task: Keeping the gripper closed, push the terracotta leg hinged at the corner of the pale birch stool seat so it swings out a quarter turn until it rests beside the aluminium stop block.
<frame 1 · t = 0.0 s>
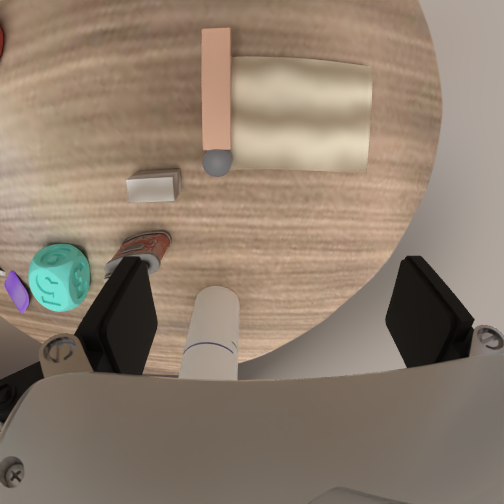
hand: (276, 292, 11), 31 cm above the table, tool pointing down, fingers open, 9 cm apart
stool seat: (288, 112, 36), on the table
cylindrical container: (217, 303, 50), on the table
decorative dice: (70, 264, 46), on the table
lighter: (147, 241, 45), on the table
stool leg: (217, 101, 32), point 4 cm above the table, hinge at 0.0°
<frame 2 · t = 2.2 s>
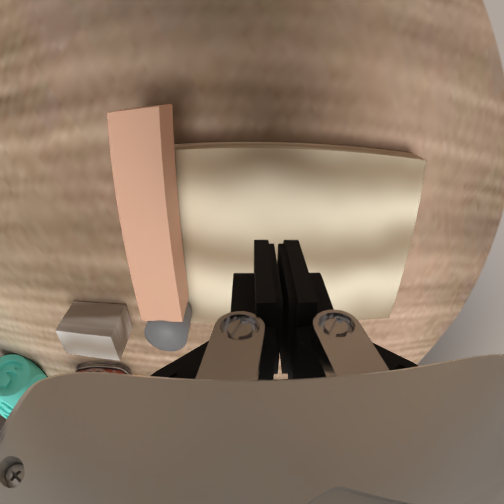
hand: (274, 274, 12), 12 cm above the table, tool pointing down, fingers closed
stool seat: (280, 232, 24), on the table
decorative dice: (29, 371, 35), on the table
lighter: (103, 369, 33), on the table
stool leg: (154, 241, 20), point 4 cm above the table, hinge at 0.0°
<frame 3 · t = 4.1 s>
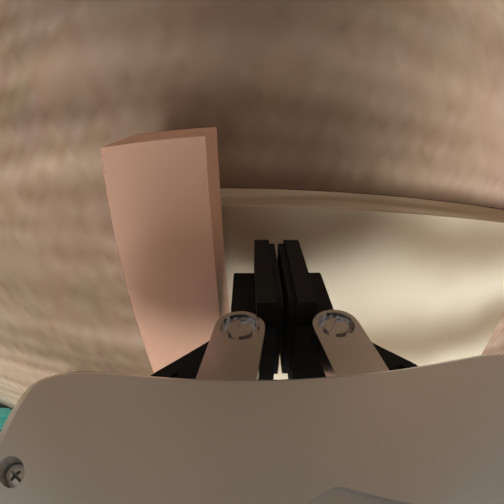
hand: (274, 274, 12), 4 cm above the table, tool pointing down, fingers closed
stool seat: (359, 310, 17), on the table
stool leg: (193, 345, 13), point 4 cm above the table, hinge at 2.9°, touching gripper
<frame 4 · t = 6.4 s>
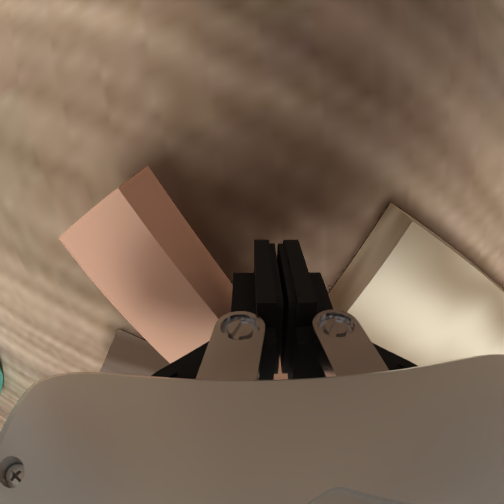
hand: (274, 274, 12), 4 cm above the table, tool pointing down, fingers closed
stool seat: (425, 348, 20), on the table
stool leg: (233, 358, 13), point 4 cm above the table, hinge at 57.5°, touching gripper
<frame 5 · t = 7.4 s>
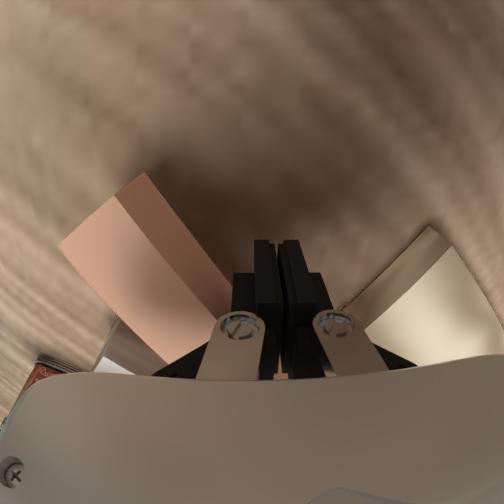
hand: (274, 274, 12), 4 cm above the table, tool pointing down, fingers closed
stool seat: (419, 367, 21), on the table
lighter: (80, 378, 21), on the table
stool leg: (236, 360, 13), point 4 cm above the table, hinge at 71.4°, touching gripper
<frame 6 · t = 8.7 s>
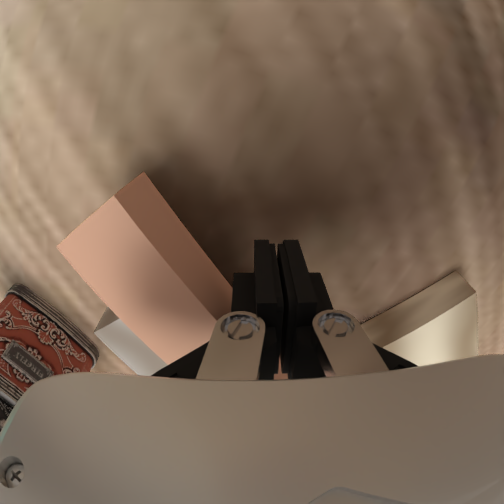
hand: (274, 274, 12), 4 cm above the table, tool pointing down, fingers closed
stool seat: (394, 395, 22), on the table
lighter: (53, 323, 18), on the table
stool leg: (235, 361, 13), point 4 cm above the table, hinge at 91.5°, touching gripper
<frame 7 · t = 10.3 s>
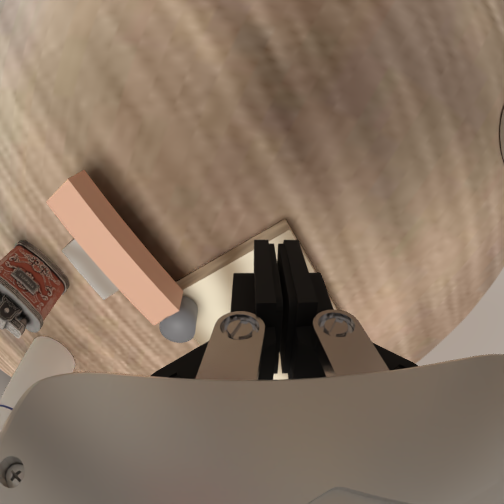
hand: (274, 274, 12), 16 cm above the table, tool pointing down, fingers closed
stool seat: (272, 323, 34), on the table
cylindrical container: (53, 354, 36), on the table
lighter: (42, 265, 29), on the table
stool leg: (128, 263, 25), point 4 cm above the table, hinge at 91.5°, touching stool seat
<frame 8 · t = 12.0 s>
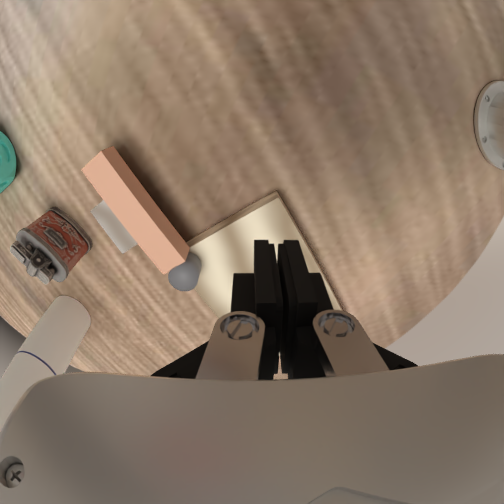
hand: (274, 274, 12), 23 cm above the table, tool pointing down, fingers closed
stool seat: (266, 284, 40), on the table
cylindrical container: (71, 313, 43), on the table
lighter: (69, 228, 36), on the table
stool leg: (145, 221, 31), point 4 cm above the table, hinge at 91.5°, touching stool seat
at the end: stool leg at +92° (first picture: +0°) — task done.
